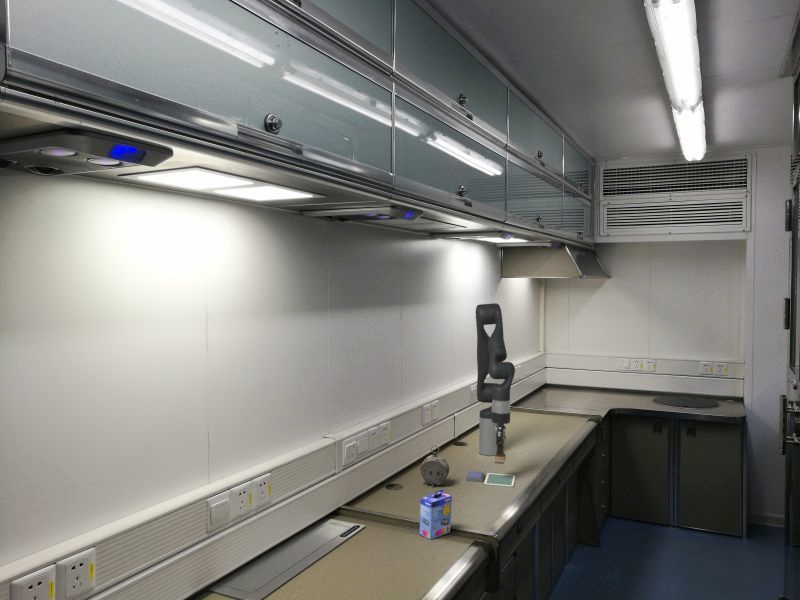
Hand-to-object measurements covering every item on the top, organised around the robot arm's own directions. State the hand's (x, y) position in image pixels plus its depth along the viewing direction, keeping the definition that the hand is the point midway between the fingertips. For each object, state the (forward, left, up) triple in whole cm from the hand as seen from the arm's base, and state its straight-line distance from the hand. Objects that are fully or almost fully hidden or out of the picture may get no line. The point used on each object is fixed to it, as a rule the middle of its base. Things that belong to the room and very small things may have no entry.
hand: (500, 452), depth 258 cm
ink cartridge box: (+60, -15, -12) cm, 63 cm away
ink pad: (0, -10, -11) cm, 15 cm away
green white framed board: (0, 0, -11) cm, 11 cm away
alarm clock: (+14, -24, -12) cm, 31 cm away
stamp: (0, 0, -4) cm, 4 cm away
